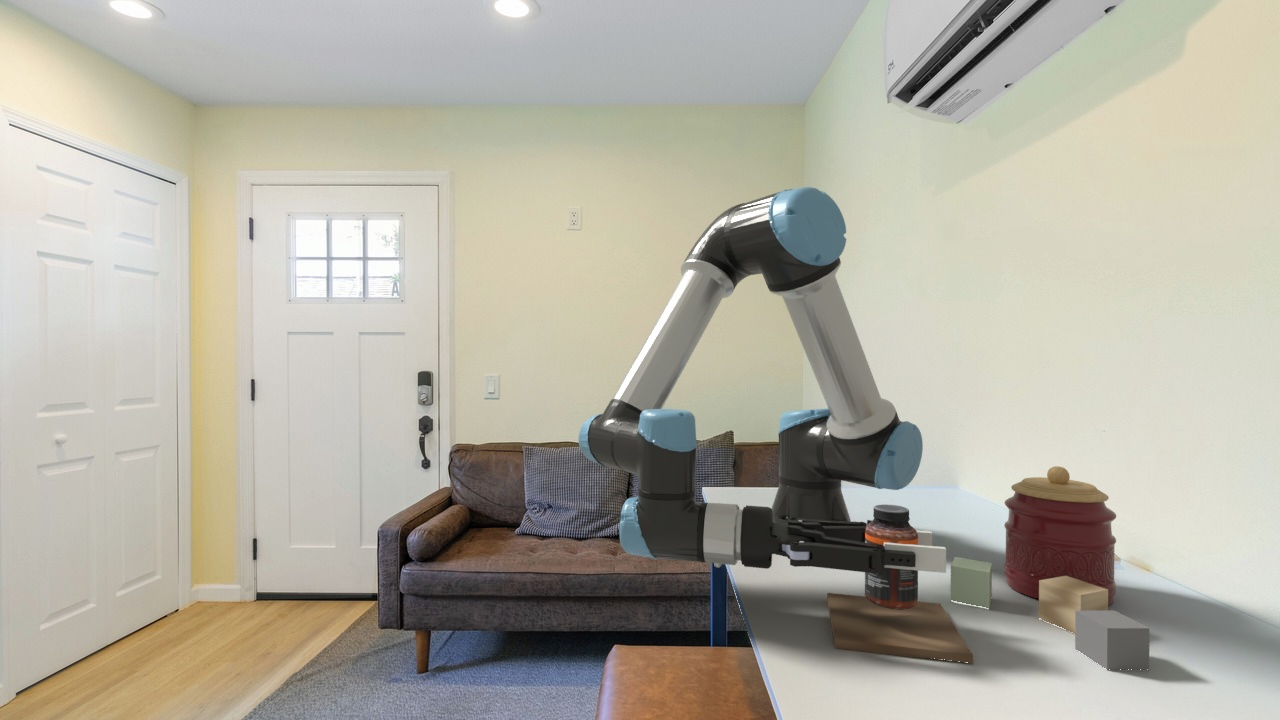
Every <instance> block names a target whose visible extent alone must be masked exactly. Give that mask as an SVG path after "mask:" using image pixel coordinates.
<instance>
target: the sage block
mask: <svg viewBox="0 0 1280 720" xmlns="http://www.w3.org/2000/svg"><path fill="white" fill-rule="evenodd" d="M992 582H993V563H992V562H989V561H982V560H981V561H980V560H975V559H970V558H966V557H965V558H964V557H958V556H954V558H953V560H952V563H950V600H953V601H957V602H962V603H966V604H971V605H976V606H982V607H986V608H989V606H990V607H991V604H990V602H991V603H992V600H991V597H992V596H993V594H992V593H993V592H992V591H993V585H992V584H993V583H992Z"/></svg>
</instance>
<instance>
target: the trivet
mask: <svg viewBox="0 0 1280 720" xmlns="http://www.w3.org/2000/svg"><path fill="white" fill-rule="evenodd" d="M826 602H827V608H828V613H829V619H830V626H831V631H832V635H833V636H832V637H833V642H834V647H835V649H840V650H847V651H857V652H867V653H874V654H875V653H876V654H883V655H892V656H899V655H901V657H907V656H909V658H916V657H920V658H919V659H925V658H932V659H931V660H933V659H934V658H935V659H943V660H944V659H945V660H952V661H960V662H968V663H973V664H974V654H973V653H972V651H971V649H970V648H969V646H968V645H967V643H966V641H965V640H964V638H963V637H962V635H961V634H960V632H959V631H958V628H956V626H955V624H954V623H953V621H952V620H951V618H950V616H949V615H948V614H947V612H946V610H945V609H944V607H943V605H942V604H941V603H939V602H938V603H936V602H929V601H928V602H927V601H918V602H917V604H916V605H915V606H914V607H912V608H909V609H904V610H897V609H890V608H884V607H881V606H878V605H876V604H874V603H872V602H870V601H869V600H868V599H867V598H866V596H865V595H864V596H863V595H856V594H842V593H833V592H827V593H826ZM911 656H912V657H911ZM968 663H967V664H968Z"/></svg>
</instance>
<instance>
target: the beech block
mask: <svg viewBox="0 0 1280 720" xmlns="http://www.w3.org/2000/svg"><path fill="white" fill-rule="evenodd" d="M1075 611H1109V605H1108V589H1105V588H1102V587H1099V586H1096V585H1093V584H1090V583H1087V582H1084V581H1081V580H1078V579H1075V578H1072V577H1069V576H1061V577H1055V578H1050V579H1044V580H1039V599H1038V619H1039V618H1041V619H1042V620H1044V621H1046V622H1049V623H1051V624H1055V625H1057V626H1059V627H1062V628H1064V629H1066V630H1068V631H1070V632H1073V633H1075ZM1046 622H1045V623H1046ZM1051 624H1050V625H1051ZM1068 631H1067V632H1068ZM1070 632H1069V633H1070ZM1073 633H1072V634H1073Z"/></svg>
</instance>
